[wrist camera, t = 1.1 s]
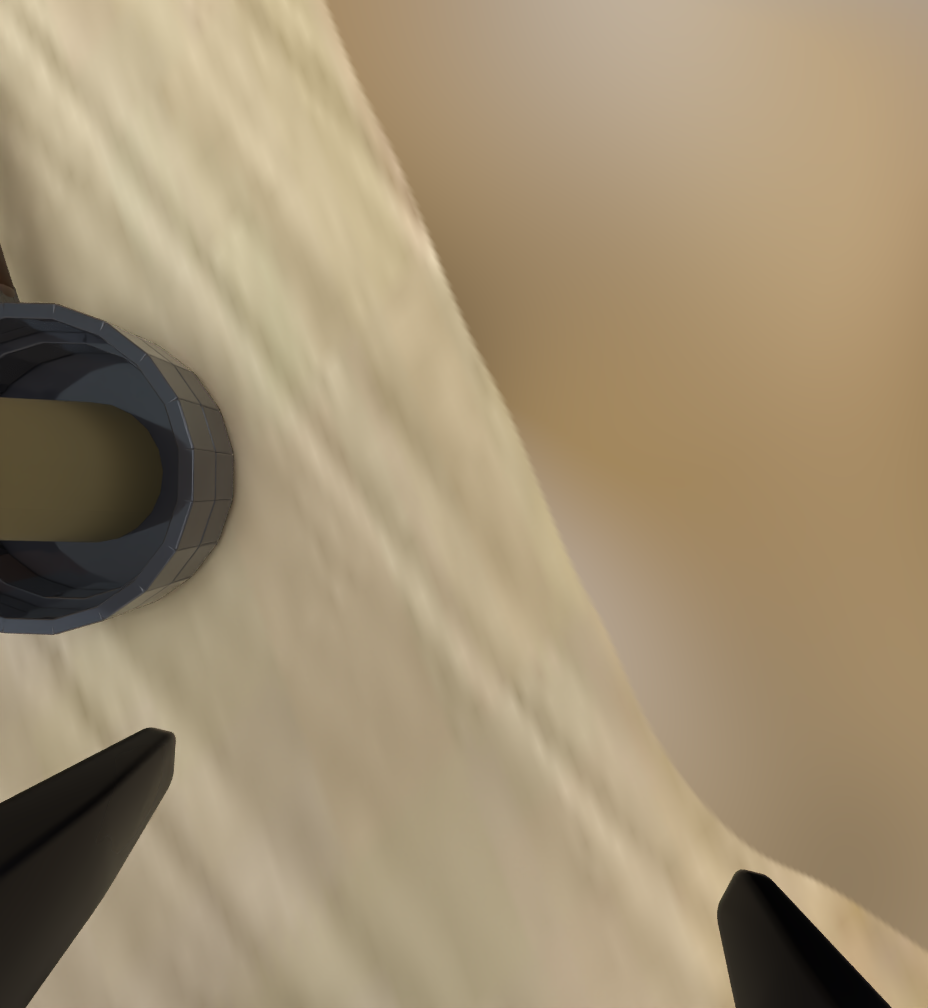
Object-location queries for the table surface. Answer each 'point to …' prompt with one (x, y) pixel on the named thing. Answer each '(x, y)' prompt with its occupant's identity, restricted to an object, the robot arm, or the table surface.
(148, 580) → the pan
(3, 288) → the pan handle
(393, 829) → the table surface
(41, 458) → the cork
